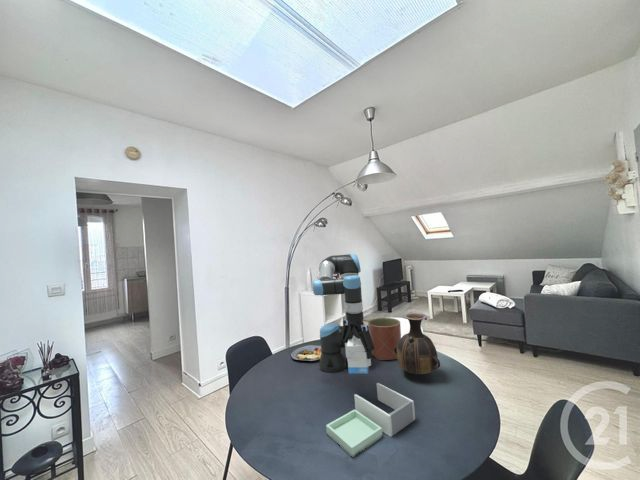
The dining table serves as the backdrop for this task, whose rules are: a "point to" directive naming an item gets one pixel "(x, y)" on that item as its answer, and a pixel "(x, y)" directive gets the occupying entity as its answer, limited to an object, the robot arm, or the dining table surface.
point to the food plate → (307, 353)
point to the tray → (354, 432)
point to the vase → (416, 348)
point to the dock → (386, 421)
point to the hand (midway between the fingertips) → (358, 361)
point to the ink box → (356, 356)
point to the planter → (384, 337)
